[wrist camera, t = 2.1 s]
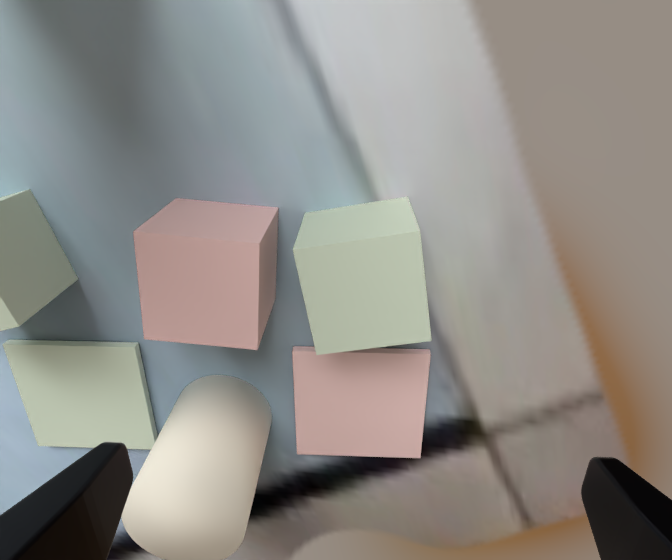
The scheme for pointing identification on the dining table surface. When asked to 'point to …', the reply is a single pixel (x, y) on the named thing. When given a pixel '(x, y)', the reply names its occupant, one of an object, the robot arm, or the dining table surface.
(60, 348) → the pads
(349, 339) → the sage cube
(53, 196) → the dining table surface
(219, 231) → the cube rose
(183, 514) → the cream rounded cylinder
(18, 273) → the sage cube
